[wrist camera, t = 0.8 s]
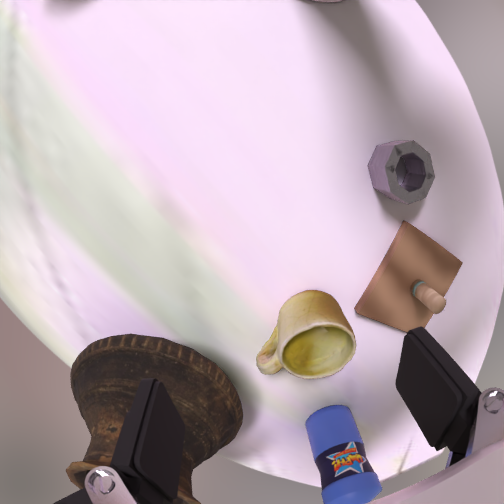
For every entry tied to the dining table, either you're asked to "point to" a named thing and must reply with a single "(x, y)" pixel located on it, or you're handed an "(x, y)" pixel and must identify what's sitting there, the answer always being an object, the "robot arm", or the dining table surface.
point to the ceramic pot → (177, 385)
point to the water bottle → (341, 457)
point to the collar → (416, 166)
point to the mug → (309, 338)
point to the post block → (409, 281)
